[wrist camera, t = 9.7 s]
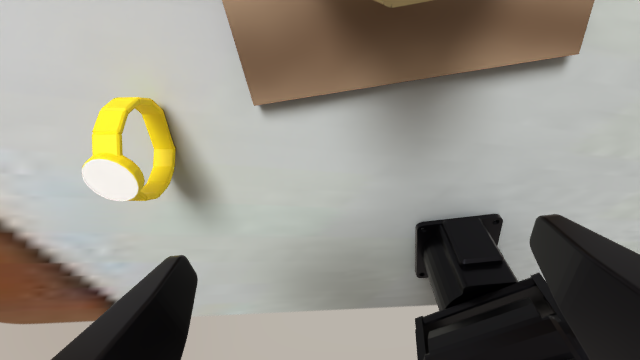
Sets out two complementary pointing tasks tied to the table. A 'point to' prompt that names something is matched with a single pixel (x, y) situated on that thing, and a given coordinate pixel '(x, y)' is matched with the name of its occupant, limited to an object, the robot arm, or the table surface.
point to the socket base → (392, 40)
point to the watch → (117, 170)
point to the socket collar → (399, 2)
